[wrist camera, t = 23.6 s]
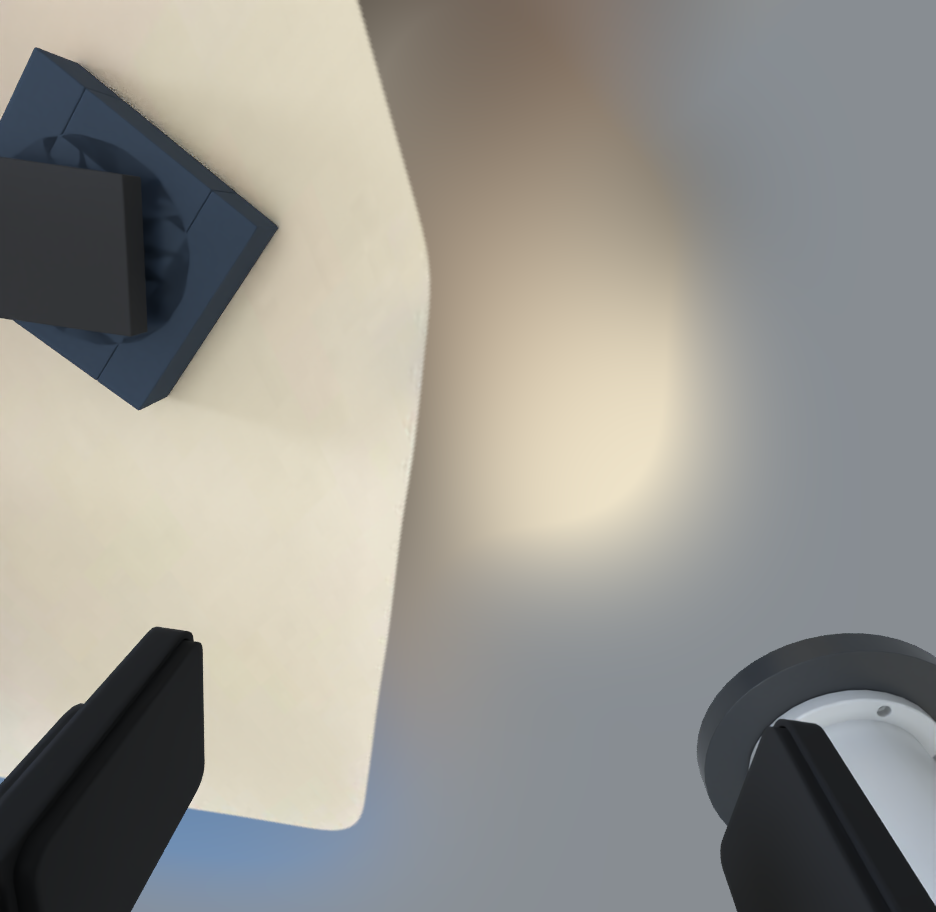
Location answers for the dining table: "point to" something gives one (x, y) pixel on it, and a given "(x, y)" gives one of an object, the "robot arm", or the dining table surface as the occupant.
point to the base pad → (164, 224)
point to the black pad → (72, 248)
